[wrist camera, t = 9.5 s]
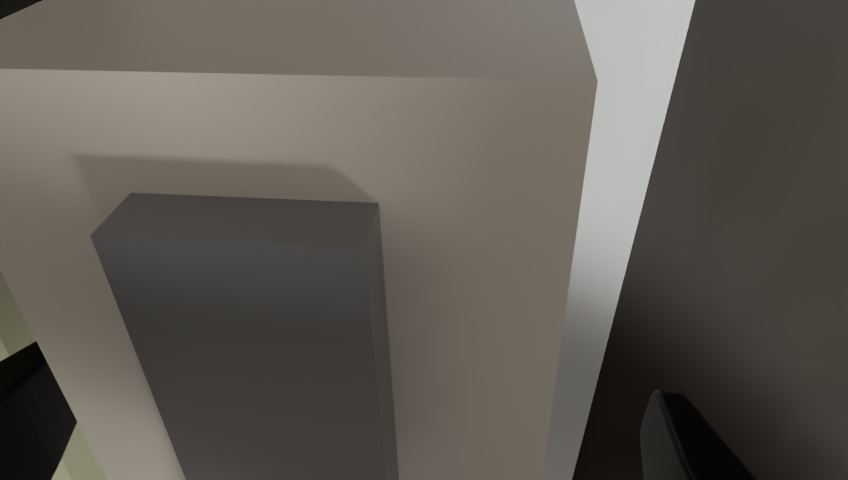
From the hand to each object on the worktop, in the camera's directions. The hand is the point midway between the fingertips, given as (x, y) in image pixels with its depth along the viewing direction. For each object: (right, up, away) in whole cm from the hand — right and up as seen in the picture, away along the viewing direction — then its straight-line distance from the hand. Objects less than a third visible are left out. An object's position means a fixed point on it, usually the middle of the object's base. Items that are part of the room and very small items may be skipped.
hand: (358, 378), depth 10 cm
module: (0, +2, +3) cm, 3 cm away
